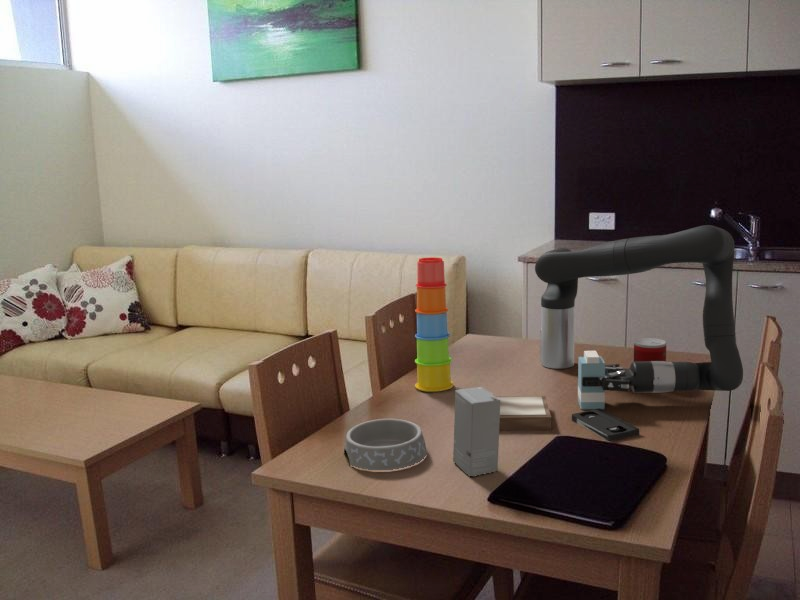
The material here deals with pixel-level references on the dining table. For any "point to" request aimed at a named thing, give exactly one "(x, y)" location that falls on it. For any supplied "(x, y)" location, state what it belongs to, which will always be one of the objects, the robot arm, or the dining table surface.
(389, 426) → the dog bowl
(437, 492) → the dining table surface
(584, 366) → the carton
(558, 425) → the dining table surface
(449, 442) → the dining table surface
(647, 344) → the canned food
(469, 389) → the skincare box
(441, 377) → the stacking cups
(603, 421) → the vhs tape
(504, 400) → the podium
